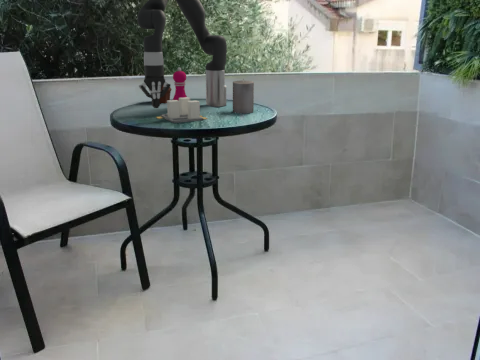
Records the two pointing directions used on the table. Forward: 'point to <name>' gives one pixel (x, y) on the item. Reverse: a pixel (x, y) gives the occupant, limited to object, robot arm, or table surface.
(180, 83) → the pepper mill
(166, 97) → the muffin
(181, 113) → the tab inner
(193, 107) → the block
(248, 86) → the pillar candle
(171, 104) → the tab middle
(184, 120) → the switch box
